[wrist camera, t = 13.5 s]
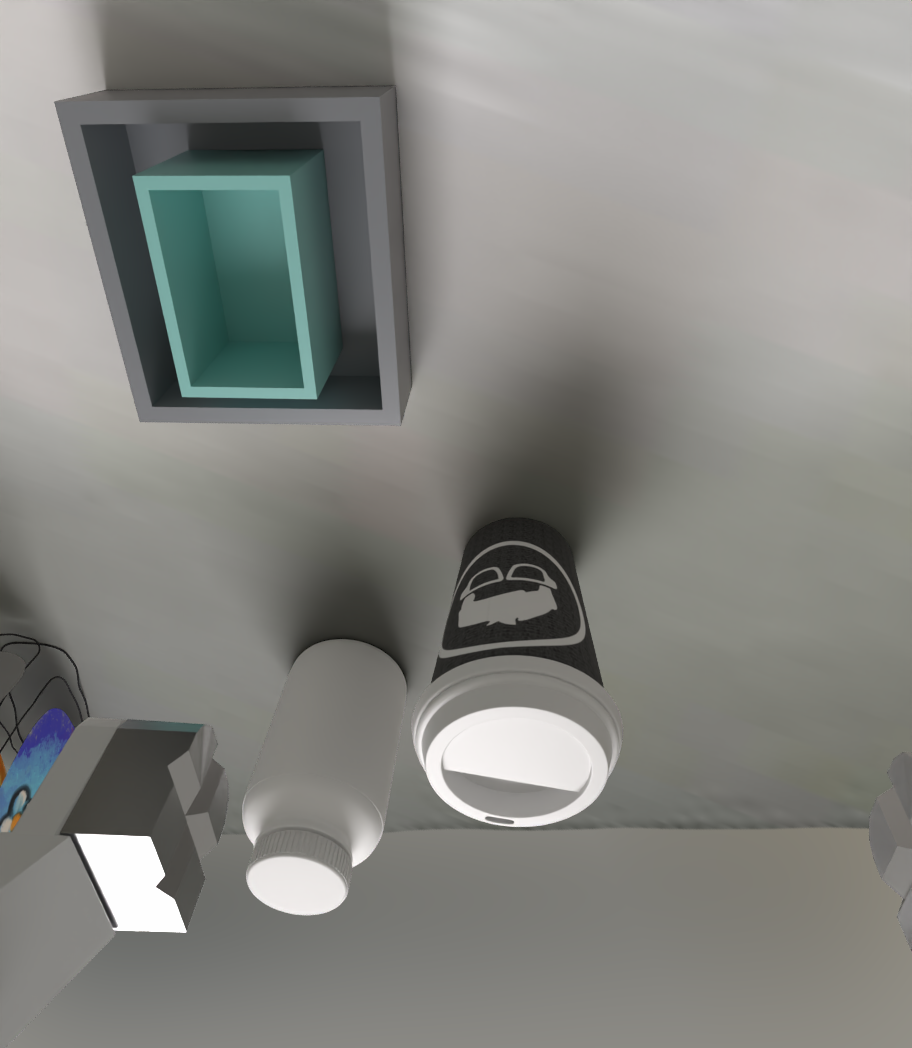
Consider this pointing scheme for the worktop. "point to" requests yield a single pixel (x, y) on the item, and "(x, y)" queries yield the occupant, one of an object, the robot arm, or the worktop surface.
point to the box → (29, 743)
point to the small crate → (244, 270)
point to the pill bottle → (324, 775)
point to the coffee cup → (517, 686)
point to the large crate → (356, 222)
